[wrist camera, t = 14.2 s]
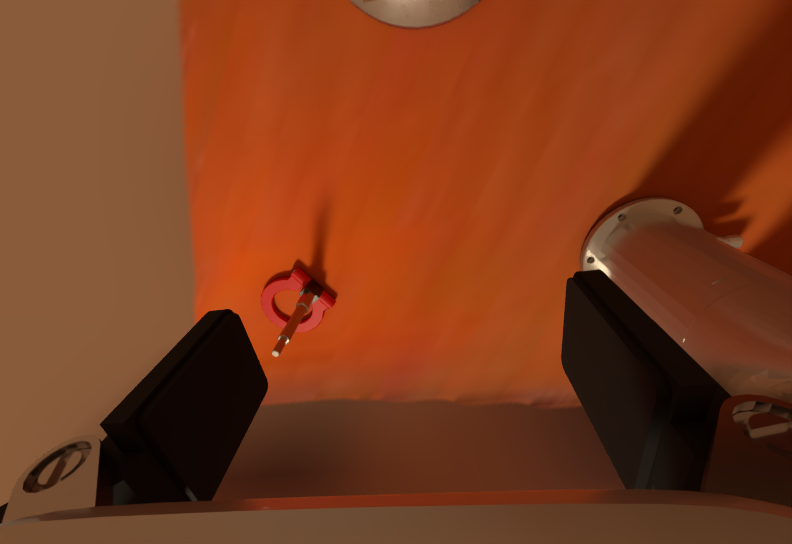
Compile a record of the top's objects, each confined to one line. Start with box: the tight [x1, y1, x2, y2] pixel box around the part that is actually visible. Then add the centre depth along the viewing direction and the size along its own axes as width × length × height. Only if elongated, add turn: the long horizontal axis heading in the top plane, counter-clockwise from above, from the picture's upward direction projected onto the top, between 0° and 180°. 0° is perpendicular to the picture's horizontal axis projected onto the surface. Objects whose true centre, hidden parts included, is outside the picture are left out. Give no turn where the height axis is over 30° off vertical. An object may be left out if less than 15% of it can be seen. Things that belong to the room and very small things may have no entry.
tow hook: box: [261, 267, 336, 356], centre depth 41 cm, size 8×13×9 cm
